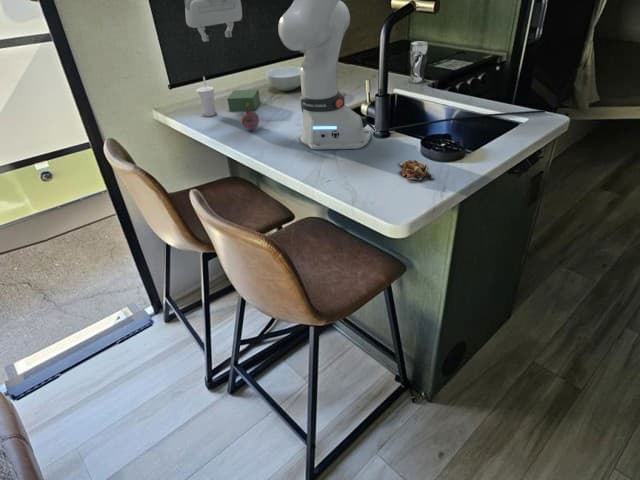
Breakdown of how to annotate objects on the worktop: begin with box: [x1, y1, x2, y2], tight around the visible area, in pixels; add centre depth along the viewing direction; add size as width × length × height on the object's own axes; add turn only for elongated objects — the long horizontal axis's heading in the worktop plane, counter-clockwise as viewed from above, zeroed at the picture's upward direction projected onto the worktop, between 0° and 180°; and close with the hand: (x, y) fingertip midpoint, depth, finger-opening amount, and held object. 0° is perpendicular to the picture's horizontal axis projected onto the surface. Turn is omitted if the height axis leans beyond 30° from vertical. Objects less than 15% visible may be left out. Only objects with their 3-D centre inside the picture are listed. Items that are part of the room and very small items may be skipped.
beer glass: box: [408, 40, 429, 84], centre depth 178 cm, size 7×7×15 cm
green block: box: [227, 88, 261, 112], centre depth 168 cm, size 10×10×5 cm
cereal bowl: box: [265, 66, 301, 92], centre depth 184 cm, size 17×17×7 cm
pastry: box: [398, 158, 434, 181], centre depth 117 cm, size 7×12×4 cm, turn 16°
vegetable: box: [240, 103, 260, 132], centre depth 146 cm, size 6×6×10 cm
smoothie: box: [196, 76, 216, 117], centre depth 161 cm, size 6×6×14 cm
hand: (217, 39), depth 143 cm, fingers open, 8 cm apart
